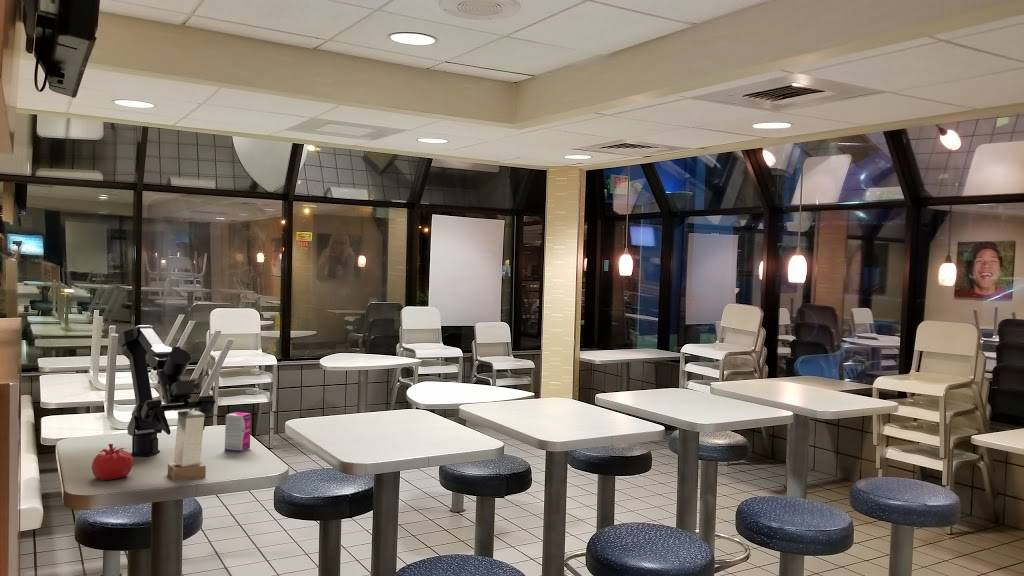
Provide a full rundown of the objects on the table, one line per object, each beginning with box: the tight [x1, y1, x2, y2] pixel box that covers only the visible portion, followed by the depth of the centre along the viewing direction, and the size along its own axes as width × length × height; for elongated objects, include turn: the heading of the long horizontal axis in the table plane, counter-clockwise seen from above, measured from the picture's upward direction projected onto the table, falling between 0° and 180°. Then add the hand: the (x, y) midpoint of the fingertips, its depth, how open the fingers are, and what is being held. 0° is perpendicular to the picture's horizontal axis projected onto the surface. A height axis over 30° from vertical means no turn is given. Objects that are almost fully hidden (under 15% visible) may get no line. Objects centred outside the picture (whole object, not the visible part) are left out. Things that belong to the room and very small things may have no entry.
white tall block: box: [173, 409, 206, 467], centre depth 213 cm, size 5×5×14 cm
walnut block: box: [167, 461, 207, 482], centre depth 214 cm, size 8×8×4 cm
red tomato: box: [91, 443, 134, 481], centre depth 210 cm, size 10×10×9 cm
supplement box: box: [224, 411, 252, 453], centre depth 245 cm, size 6×6×12 cm
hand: (186, 431), depth 214 cm, fingers open, 9 cm apart
